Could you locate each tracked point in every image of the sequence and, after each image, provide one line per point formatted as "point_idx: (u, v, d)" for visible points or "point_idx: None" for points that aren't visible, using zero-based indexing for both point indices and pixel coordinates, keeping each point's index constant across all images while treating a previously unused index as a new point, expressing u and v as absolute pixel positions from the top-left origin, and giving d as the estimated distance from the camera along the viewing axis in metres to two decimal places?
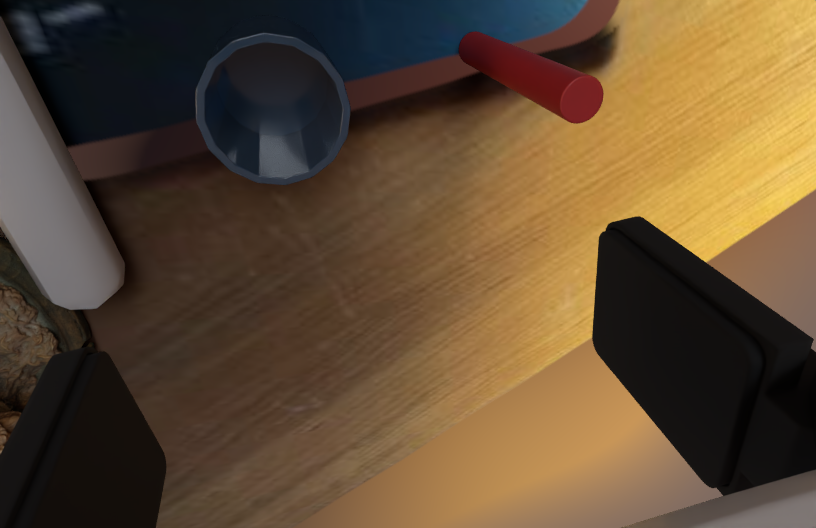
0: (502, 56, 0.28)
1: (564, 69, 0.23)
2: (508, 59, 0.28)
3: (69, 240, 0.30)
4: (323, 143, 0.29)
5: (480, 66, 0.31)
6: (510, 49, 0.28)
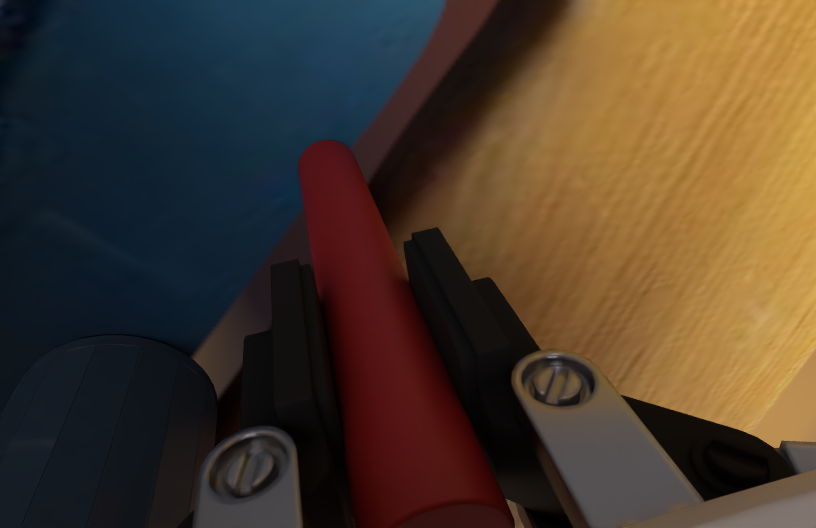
0: (314, 272, 0.13)
1: (359, 436, 0.08)
2: (317, 290, 0.12)
3: None
4: None
5: None
6: (318, 249, 0.12)
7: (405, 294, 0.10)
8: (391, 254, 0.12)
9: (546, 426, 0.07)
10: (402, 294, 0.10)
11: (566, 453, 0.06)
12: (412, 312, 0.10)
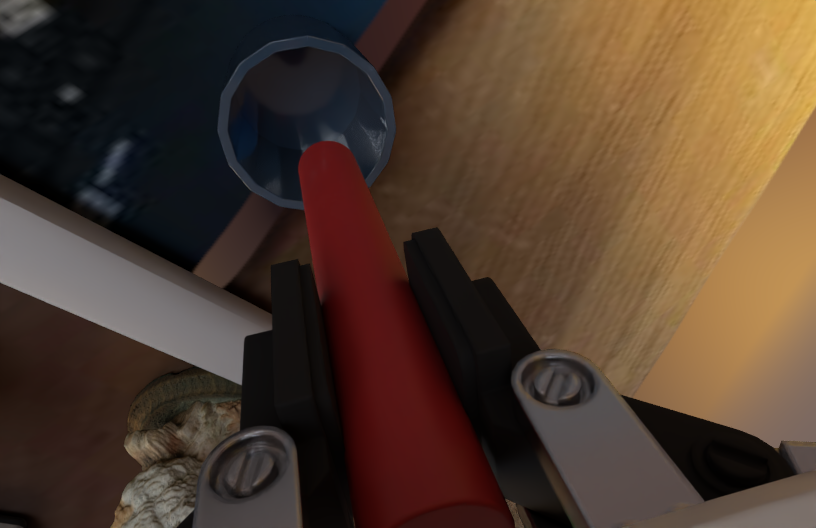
0: (314, 272, 0.13)
1: (359, 437, 0.08)
2: (317, 291, 0.12)
3: None
4: (378, 117, 0.25)
5: None
6: (318, 250, 0.12)
7: (405, 295, 0.10)
8: (391, 255, 0.12)
9: (546, 426, 0.07)
10: (403, 295, 0.10)
11: (566, 454, 0.06)
12: (412, 313, 0.10)
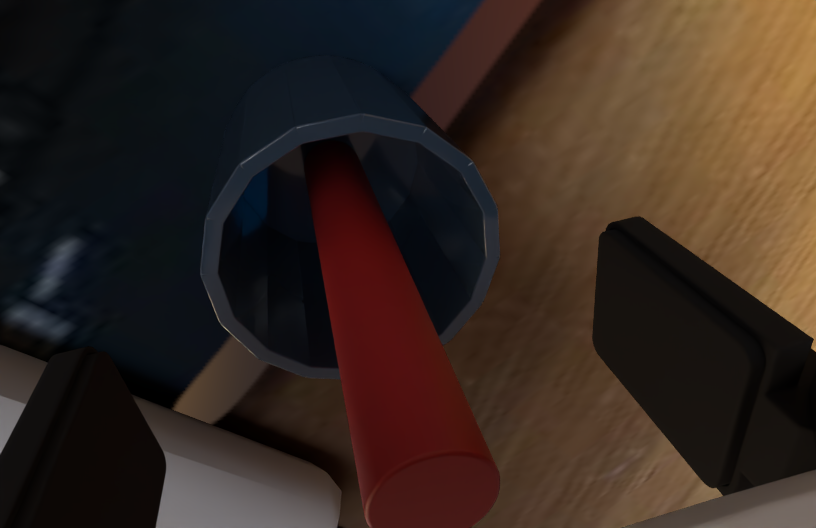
0: None
1: (362, 402, 0.08)
2: (323, 279, 0.13)
3: (249, 517, 0.22)
4: (460, 223, 0.16)
5: None
6: (324, 241, 0.13)
7: (404, 281, 0.11)
8: (392, 245, 0.13)
9: None
10: (402, 280, 0.11)
11: None
12: (411, 296, 0.11)
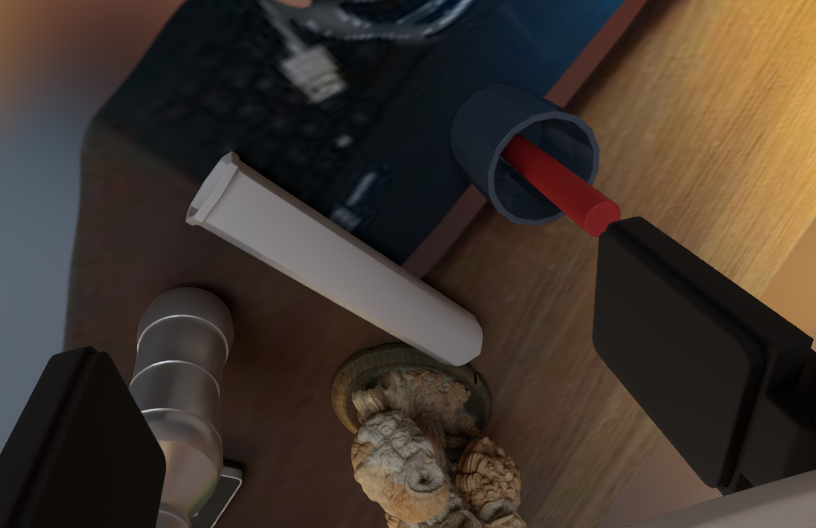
0: (526, 171, 0.33)
1: (576, 197, 0.28)
2: (531, 176, 0.32)
3: (445, 324, 0.42)
4: (575, 159, 0.35)
5: None
6: (528, 162, 0.33)
7: None
8: None
9: None
10: None
11: None
12: None
